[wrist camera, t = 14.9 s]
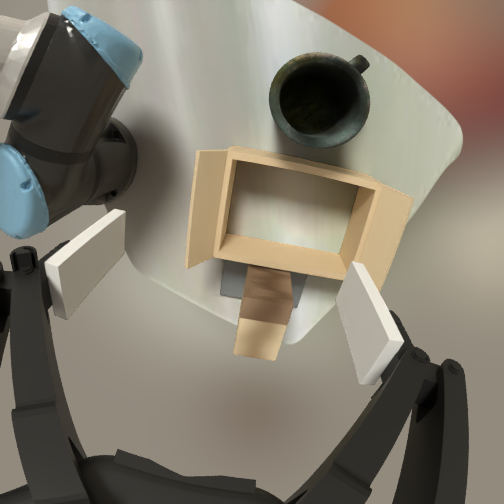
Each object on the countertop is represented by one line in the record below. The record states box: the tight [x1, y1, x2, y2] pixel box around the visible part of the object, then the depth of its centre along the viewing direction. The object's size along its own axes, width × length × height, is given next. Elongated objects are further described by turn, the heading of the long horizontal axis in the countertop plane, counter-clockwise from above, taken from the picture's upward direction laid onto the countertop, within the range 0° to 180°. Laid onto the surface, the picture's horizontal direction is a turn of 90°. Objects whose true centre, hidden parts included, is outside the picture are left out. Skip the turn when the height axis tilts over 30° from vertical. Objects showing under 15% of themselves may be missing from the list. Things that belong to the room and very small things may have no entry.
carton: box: [185, 146, 414, 293], centre depth 39 cm, size 26×15×12 cm, turn 80°
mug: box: [269, 52, 370, 149], centre depth 32 cm, size 11×15×12 cm
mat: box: [220, 260, 307, 308], centre depth 50 cm, size 14×10×1 cm
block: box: [233, 264, 293, 361], centre depth 43 cm, size 6×10×14 cm, turn 170°
